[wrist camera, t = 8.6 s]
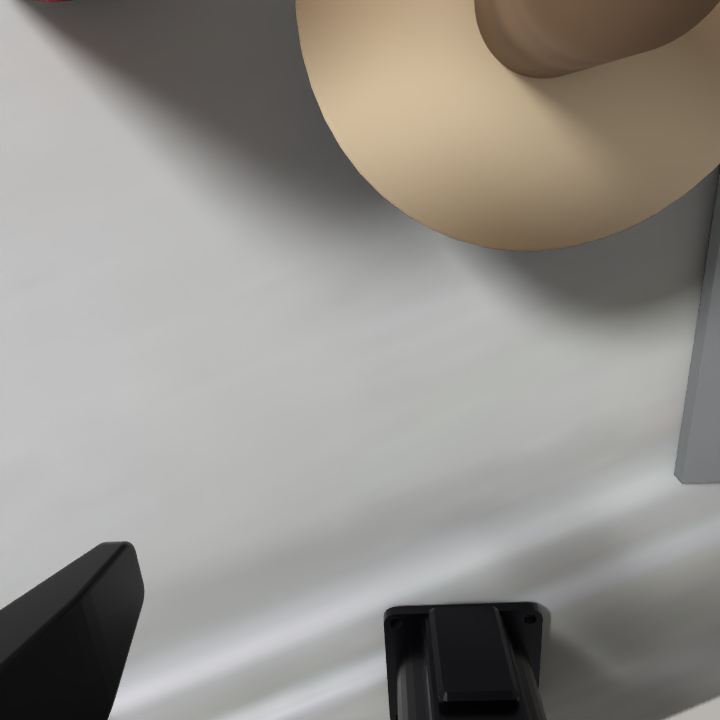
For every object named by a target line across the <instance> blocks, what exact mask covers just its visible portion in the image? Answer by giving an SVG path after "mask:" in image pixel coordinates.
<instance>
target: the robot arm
mask: <svg viewBox="0 0 720 720" xmlns="http://www.w3.org/2000/svg"><path fill="white" fill-rule="evenodd" d="M143 601H144V584H143V579H142V575H141V571H140V567H139V563H138V559H137V555H136V551H135V548H134V546H133V545H132V544H131V543H130V542H127V541H122V542H104V543H101V544H99V545H98V546H96V547H95V548H93V549H92V550H90V551H89V552H87V553H86V554H84V555H83V556H81V557H80V558H78V559H77V560H75V561H74V562H72V563H71V564H69V565H67V566H66V567H64V568H63V569H61V570H60V571H58V572H57V573H55V574H54V575H52V576H51V577H49V578H48V579H46V580H45V581H43V582H42V583H40V584H39V585H37V586H36V587H34V588H33V589H31V590H30V591H28V592H27V593H25V594H24V595H22V596H21V597H19V598H18V599H16V600H15V601H13V602H12V603H10V604H9V605H7V606H6V607H4V608H3V609H1V610H0V720H108V717H109V714H110V712H111V709H112V706H113V703H114V700H115V697H116V694H117V691H118V687H119V684H120V681H121V677H122V674H123V670H124V667H125V663H126V660H127V657H128V653H129V650H130V646H131V643H132V639H133V636H134V632H135V629H136V626H137V622H138V619H139V615H140V612H141V608H142V605H143ZM530 614H531V615H532V616H529V617H526V616H527V615H530ZM393 619H399V620H398V621H394V620H393ZM542 622H543V618H542V614H541V611H540V608H539V607H538V606H537V605H536V604H534V603H499V604H469V605H438V606H407V607H392V608H389V609H388V610H386V612H385V613H384V633H385V649H386V664H387V679H388V694H389V710H390V719H391V720H547V719H546V715H545V712H544V708H543V705H542V701H541V698H540V694H539V691H538V686H539V670H540V654H541V638H542Z"/></svg>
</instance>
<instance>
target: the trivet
mask: <svg viewBox="0 0 720 720" xmlns="http://www.w3.org/2000/svg"><path fill="white" fill-rule="evenodd" d="M674 475H675V476H676V478H677V479H678V480H679V481H680V482H681V483H682V484H688V483H713V482H720V173H719V180H718V186H717V193H716V200H715V206H714V213H713V220H712V226H711V233H710V240H709V246H708V253H707V259H706V266H705V273H704V279H703V286H702V293H701V299H700V306H699V313H698V319H697V326H696V333H695V339H694V346H693V353H692V359H691V366H690V372H689V379H688V386H687V392H686V399H685V406H684V412H683V419H682V426H681V432H680V439H679V446H678V452H677V459H676V466H675V472H674Z"/></svg>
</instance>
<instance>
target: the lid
mask: <svg viewBox="0 0 720 720" xmlns="http://www.w3.org/2000/svg"><path fill="white" fill-rule="evenodd" d="M295 5H296V19H297V26H298V32H299V38H300V45H301V51H302V55H303V59H304V63H305V66H306V70H307V73H308V77H309V81H310V84H311V87H312V90H313V92H314V95H315V97H316V100H317V102H318V104H319V107H320V109H321V112H322V114H323V117H324V119H325V121H326V122H327V124H328V126H329V128H330V130H331V131H332V133H333V135H334V137H335V138H336V140H337V142H338V144H339V146H340V147H341V149H342V150H343V151H344V153H345V154H346V155H347V157H348V158H349V159H350V161H351V162H352V163H353V165H354V166H355V167H356V169H357V170H358V171H359V173H360V174H361V175H362V176H363V177H364V178H365V179H366V180H367V181H368V182H369V183H370V184H371V185H372V186H373V187H374V188H375V189H376V190H377V191H378V192H379V193H380V194H381V195H382V196H383V197H384V198H385V199H387V200H388V201H389V202H391V203H392V204H393V205H394V206H396V207H397V208H398V209H399V210H401V211H402V212H403V213H405V214H406V215H408V216H410V217H411V218H413V219H415V220H416V221H418V222H420V223H422V224H423V225H425V226H427V227H428V228H430V229H433V230H435V231H437V232H440V233H442V234H444V235H447V236H449V237H452V238H454V239H457V240H460V241H464V242H468V243H471V244H475V245H479V246H483V247H489V248H497V249H504V250H512V251H531V250H549V249H557V248H564V247H572V246H576V245H579V244H583V243H587V242H591V241H595V240H599V239H602V238H605V237H607V236H610V235H612V234H615V233H617V232H620V231H622V230H625V229H627V228H630V227H632V226H634V225H636V224H638V223H639V222H641V221H643V220H645V219H647V218H649V217H651V216H653V215H654V214H656V213H658V212H660V211H661V210H663V209H664V208H666V207H667V206H669V205H670V204H672V203H673V202H674V201H676V200H677V199H679V198H680V197H682V196H683V195H685V194H686V193H687V192H689V191H690V190H691V189H692V188H693V187H694V186H695V185H697V184H698V183H699V182H700V181H701V180H702V179H704V178H705V177H706V176H707V175H708V174H709V173H711V172H712V171H713V170H714V169H715V168H716V167H717V166H718V165H719V164H720V0H295Z"/></svg>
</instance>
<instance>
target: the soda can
mask: <svg viewBox="0 0 720 720" xmlns="http://www.w3.org/2000/svg"><path fill="white" fill-rule="evenodd" d="M37 1H48V2H59V1H70V0H37Z"/></svg>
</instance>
